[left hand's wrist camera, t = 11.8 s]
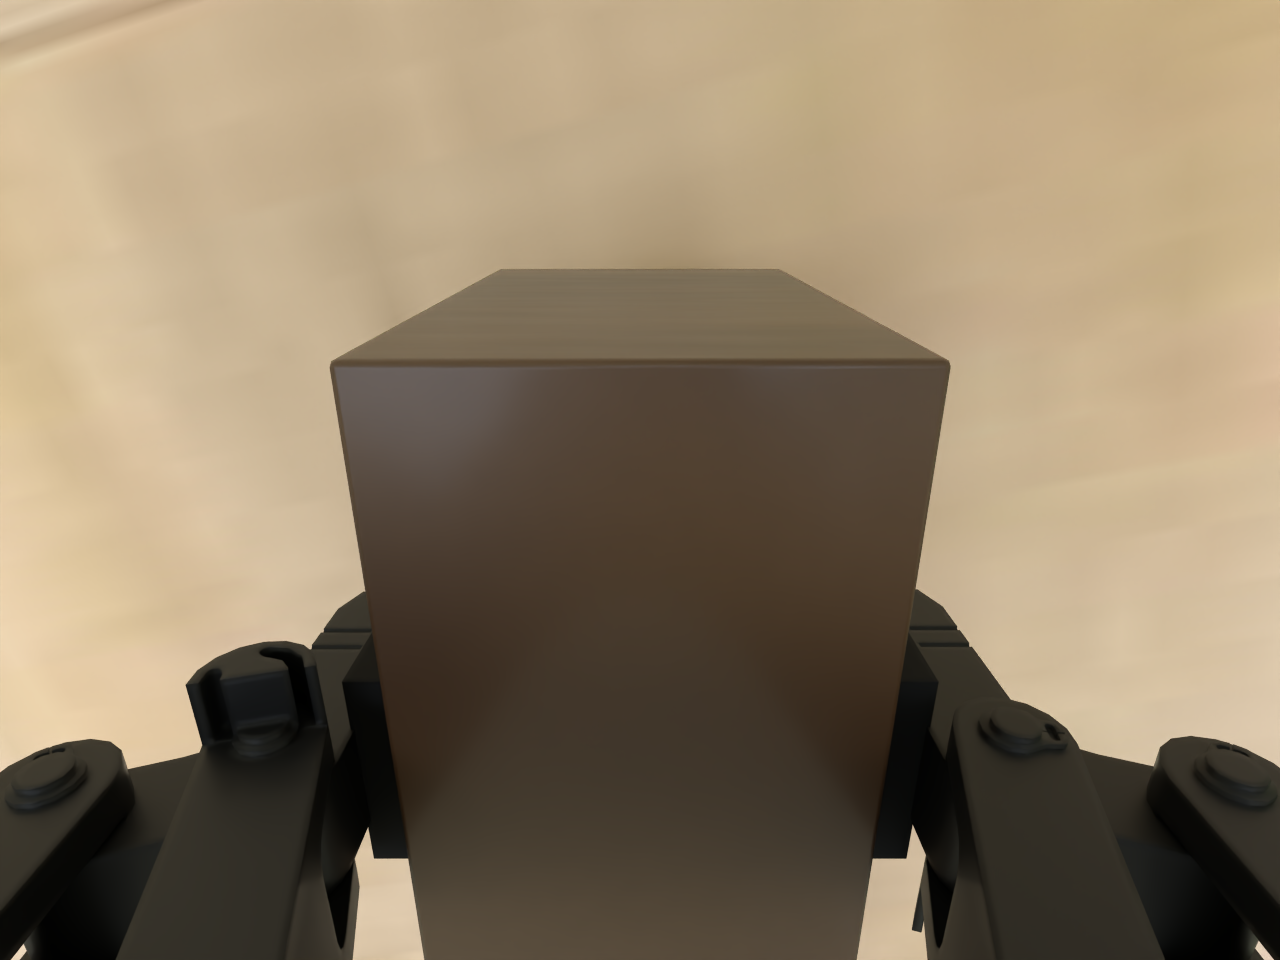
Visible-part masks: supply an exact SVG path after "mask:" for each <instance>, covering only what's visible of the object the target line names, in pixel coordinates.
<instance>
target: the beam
mask: <svg viewBox="0 0 1280 960" xmlns="http://www.w3.org/2000/svg"><path fill="white" fill-rule="evenodd" d="M330 372H331V379H332V385H333V391H334V397H335V404H336V410H337V416H338V422H339V429H340V435H341V441H342V447H343V454H344V460H345V466H346V472H347V479H348V485H349V491H350V497H351V503H352V510H353V516H354V522H355V528H356V535H357V541H358V547H359V553H360V560H361V566H362V572H363V578H364V585H365V591H366V597H367V603H368V610H369V616H370V622H371V628H372V635H373V641H374V647H375V653H376V660H377V666H378V672H379V678H380V685H381V691H382V697H383V703H384V710H385V716H386V722H387V728H388V735H389V741H390V747H391V753H392V760H393V766H394V772H395V778H396V785H397V791H398V797H399V803H400V810H401V816H402V822H403V828H404V835H405V841H406V847H407V853H408V860H409V866H410V872H411V878H412V885H413V891H414V897H415V903H416V910H417V916H418V922H419V928H420V935H421V941H422V947H423V953H424V960H857V953H858V947H859V941H860V934H861V928H862V922H863V915H864V909H865V903H866V897H867V890H868V884H869V878H870V871H871V865H872V859H873V852H874V846H875V840H876V833H877V827H878V821H879V815H880V808H881V802H882V796H883V789H884V783H885V777H886V770H887V764H888V758H889V751H890V745H891V739H892V733H893V726H894V720H895V714H896V707H897V701H898V695H899V688H900V682H901V676H902V670H903V663H904V657H905V651H906V644H907V638H908V632H909V625H910V619H911V613H912V606H913V600H914V594H915V588H916V581H917V575H918V569H919V562H920V556H921V550H922V543H923V537H924V531H925V524H926V518H927V512H928V506H929V499H930V493H931V487H932V480H933V474H934V468H935V461H936V455H937V449H938V442H939V436H940V430H941V424H942V417H943V411H944V405H945V398H946V392H947V386H948V379H949V373H950V363H949V360H947V359H945V358H943V357H941V356H939V355H937V354H936V353H934V352H932V351H930V350H928V349H926V348H924V347H923V346H921V345H919V344H917V343H915V342H913V341H911V340H910V339H908V338H906V337H904V336H902V335H900V334H898V333H897V332H895V331H893V330H891V329H889V328H887V327H885V326H884V325H882V324H880V323H878V322H876V321H874V320H872V319H871V318H869V317H867V316H865V315H863V314H861V313H859V312H858V311H856V310H854V309H852V308H850V307H848V306H846V305H845V304H843V303H841V302H839V301H837V300H835V299H833V298H832V297H830V296H828V295H826V294H824V293H822V292H820V291H819V290H817V289H815V288H813V287H811V286H809V285H807V284H806V283H804V282H802V281H800V280H798V279H796V278H794V277H793V276H791V275H789V274H787V273H785V272H783V271H781V270H779V269H501V270H499V271H497V272H495V273H493V274H491V275H489V276H487V277H486V278H484V279H482V280H480V281H478V282H476V283H475V284H473V285H471V286H469V287H467V288H465V289H464V290H462V291H460V292H458V293H456V294H454V295H452V296H451V297H449V298H447V299H445V300H443V301H441V302H440V303H438V304H436V305H434V306H432V307H430V308H429V309H427V310H425V311H423V312H421V313H419V314H417V315H416V316H414V317H412V318H410V319H408V320H406V321H405V322H403V323H401V324H399V325H397V326H395V327H394V328H392V329H390V330H388V331H386V332H384V333H382V334H381V335H379V336H377V337H375V338H373V339H371V340H370V341H368V342H366V343H364V344H362V345H360V346H358V347H357V348H355V349H353V350H351V351H349V352H347V353H346V354H344V355H342V356H340V357H338V358H336V359H335V360H333V361H331V364H330Z"/></svg>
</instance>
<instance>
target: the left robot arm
mask: <svg viewBox="0 0 1280 960" xmlns="http://www.w3.org/2000/svg"><path fill="white" fill-rule="evenodd" d="M186 688H187V692H188V695H189V699H190V702H191V706H192V709H193V713H194V717H195V720H196V724H197V727H198V731H199V734H200V738H201V742H202V748H201V750H200V753H197V754H193V755H190V756H186V757H182V758H178V759H173V760H169V761H164V762H159V763H155V764H150V765H146V766H141V767H136V768H132V769H127V765H126V762H125V759H124V756H123V753H122V750H120V749H119V748H118V747H117V746H115V745H114V744H113V743H111V742H109V741H102V740H94V739H87V740H80V741H73V742H66V743H62V744H59V745H55V746H52V747H50V748H49V747H48V748H46V749H43V750H40V751H38V752H35V753H33V754H32V755H30V756H28V757H26V758H24V759H22V760H20V761H18V762H16V763H14V764H12V765H10V766H8V767H7V768H6V769H4V770H3V771H2V772H0V960H11V959H12V958H13V956H14V955H15V954H16V952H17V951H18V950H19V949H20V947H21V946H22V945H23V944H24V946H25V948H26V950H27V951H26V953H25V954H24V955H23V957H22V958H21V959H20V960H353V950H354V939H355V929H356V918H357V908H358V898H359V887H360V886H359V880H358V874H357V868H356V863H355V856H356V854H357V852H358V849H359V847H360V845H361V842H362V840H363V838H364V835H365V833H366V831H367V828H369V833H370V839H371V844H372V850H373V855H374V858H408V853H407V847H406V841H405V835H404V828H403V822H402V816H401V810H400V803H399V797H398V791H397V785H396V778H395V772H394V766H393V760H392V753H391V747H390V741H389V735H388V728H387V722H386V716H385V710H384V703H383V697H382V691H381V685H380V678H379V672H378V666H377V660H376V653H375V647H374V641H373V635H372V628H371V622H370V616H369V610H368V603H367V597H366V592H362V593H361V594H359V595H358V596H356V597H355V598H354V599H352V600H351V601H349V602H348V603H346V604H345V605H343V606H342V607H340V608H339V609H338V610H337V611H336V613H335V614H334V615H333V617H332V618H331V620H330V621H329V622H328V624H327V625H326V627H325V628H324V633H320V635H319V636H318V638H317V639H316V640H315V642H314V643H313V644H312V649H308V648H307V647H306V646H304V645H301V644H297V643H293V642H288V641H276V642H262V643H257V644H253V645H249V646H245V647H240V648H238V649H235V650H233V651H231V652H228V653H226V654H223V655H221V656H219V657H216V658H215V659H213V660H212V661H211V662H209V663H208V664H206V665H205V666H203V667H202V668H200V669H199V670H197V672H196V673H195V674H194V675H193V676H192V678H191V679H190V680H189V681H188V683H187V684H186ZM912 825H913V826H914V828H915V831H916V833H917V835H918V838H919V840H920V842H921V845H922V847H923V849H924V852H925V854H926V858H925V863H924V868H923V873H922V878H921V883H920V888H919V893H918V898H917V904H916V909H915V914H914V920H913V926H912V930H914V931H918V932H922V927H923V922H924V927H925V937H926V948H927V958H928V960H1264V959H1263V958H1262V957H1261V956H1260V954H1259V953H1258V952H1257V950H1256V949H1255V947H1256V945H1257V943H1258V941H1260V943H1261V944H1262V945H1263V946H1264V948H1265V949H1266V950H1267V951H1268V953H1269V954H1270V955H1271V956H1272V958H1273V959H1274V960H1280V768H1279V767H1278V766H1276V765H1275V764H1274V763H1272V762H1270V761H1268V760H1266V759H1264V758H1262V757H1260V756H1258V755H1256V754H1254V753H1252V752H1250V751H1249V750H1247V749H1244V748H1242V747H1239V746H1236V745H1234V744H1233V745H1232V744H1230V743H1227V742H1223V741H1219V740H1216V739H1209V738H1201V737H1194V736H1188V737H1180V738H1173V739H1170V740H1169V741H1168V742H1166V743H1165V744H1164V745H1162V746H1161V747H1160V749H1159V752H1158V755H1157V758H1156V761H1155V764H1154V767H1153V766H1149V765H1144V764H1140V763H1135V762H1130V761H1126V760H1121V759H1117V758H1112V757H1107V756H1103V755H1098V754H1095V753H1091V752H1088V751H1084V750H1080V749H1079V746H1078V744H1077V743H1076V741H1075V740H1074V738H1073V737H1072V735H1071V734H1070V733H1069V731H1068V730H1067V728H1065V727H1064V726H1063V725H1061V724H1060V723H1059V722H1058V721H1056V720H1055V719H1054V718H1052V717H1051V716H1050V715H1048V714H1046V713H1044V712H1042V711H1040V710H1038V709H1036V708H1034V707H1032V706H1030V705H1028V704H1025V703H1021V702H1017V701H1013V700H1010V698H1009V697H1008V695H1007V694H1006V693H1005V691H1004V690H1003V689H1002V687H1001V686H1000V685H999V683H998V682H997V680H996V679H995V678H994V676H993V675H992V674H991V672H990V671H989V669H988V668H987V667H986V665H985V664H984V663H983V661H982V660H981V659H980V657H979V656H978V654H977V653H976V652H975V650H974V649H973V648H972V647H969V642H968V641H967V639H966V638H965V637H964V635H963V634H962V632H961V631H960V630H957V626H956V624H955V623H954V622H953V620H952V619H951V617H950V616H949V615H948V613H947V612H946V611H945V609H944V608H943V607H942V606H941V605H940V604H938V603H937V602H935V601H934V600H932V599H931V598H929V597H928V596H926V595H925V594H923V593H922V592H920V591H919V590H915V594H914V600H913V606H912V613H911V619H910V625H909V632H908V638H907V644H906V651H905V657H904V663H903V670H902V676H901V682H900V688H899V695H898V701H897V707H896V714H895V720H894V726H893V733H892V739H891V745H890V751H889V758H888V764H887V770H886V777H885V783H884V789H883V796H882V802H881V808H880V815H879V821H878V827H877V833H876V840H875V846H874V852H873V858H894V859H906V858H907V852H908V847H909V841H910V836H911V830H912Z"/></svg>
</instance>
